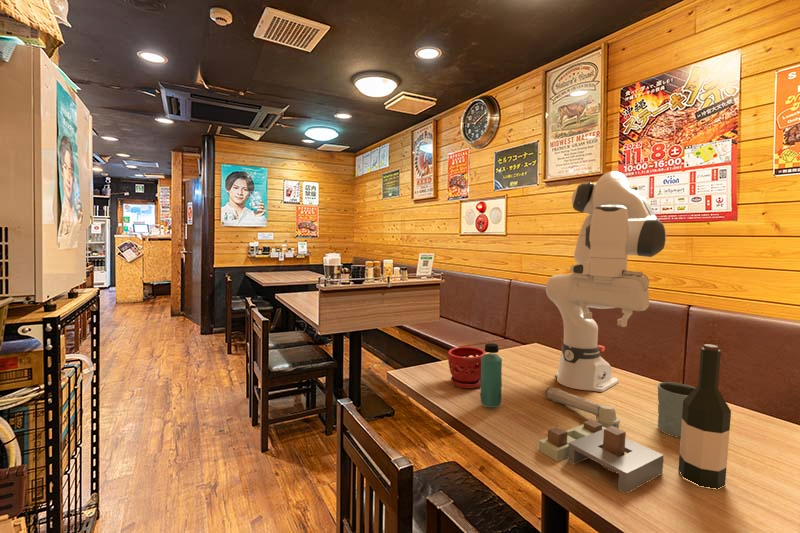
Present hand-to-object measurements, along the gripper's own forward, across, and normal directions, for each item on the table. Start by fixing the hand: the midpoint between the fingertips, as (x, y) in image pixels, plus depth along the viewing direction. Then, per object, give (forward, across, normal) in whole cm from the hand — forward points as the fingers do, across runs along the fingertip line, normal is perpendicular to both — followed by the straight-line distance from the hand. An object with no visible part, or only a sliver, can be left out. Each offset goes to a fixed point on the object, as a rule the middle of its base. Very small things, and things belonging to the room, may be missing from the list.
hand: (604, 322), depth 104 cm
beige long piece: (+32, +12, -9) cm, 35 cm away
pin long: (+31, -10, +9) cm, 34 cm away
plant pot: (+31, +47, +6) cm, 57 cm away
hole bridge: (+31, -10, +9) cm, 34 cm away
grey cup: (+31, -8, -23) cm, 40 cm away
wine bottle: (+31, -22, -4) cm, 38 cm away
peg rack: (+31, +1, +8) cm, 32 cm away
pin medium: (+31, +1, +15) cm, 34 cm away
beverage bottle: (+31, +28, +12) cm, 44 cm away
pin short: (+31, +1, +1) cm, 31 cm away
